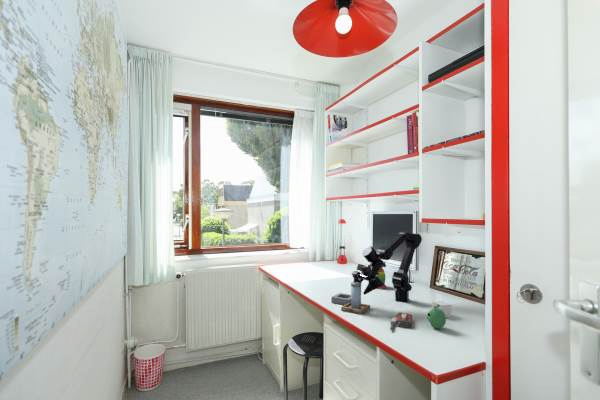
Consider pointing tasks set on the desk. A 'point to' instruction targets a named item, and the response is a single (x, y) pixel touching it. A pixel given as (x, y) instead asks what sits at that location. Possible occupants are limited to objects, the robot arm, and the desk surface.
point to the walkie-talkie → (402, 320)
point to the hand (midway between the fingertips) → (358, 291)
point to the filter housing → (341, 298)
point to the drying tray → (359, 311)
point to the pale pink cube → (443, 307)
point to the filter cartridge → (356, 295)
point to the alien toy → (436, 317)
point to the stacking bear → (382, 278)
